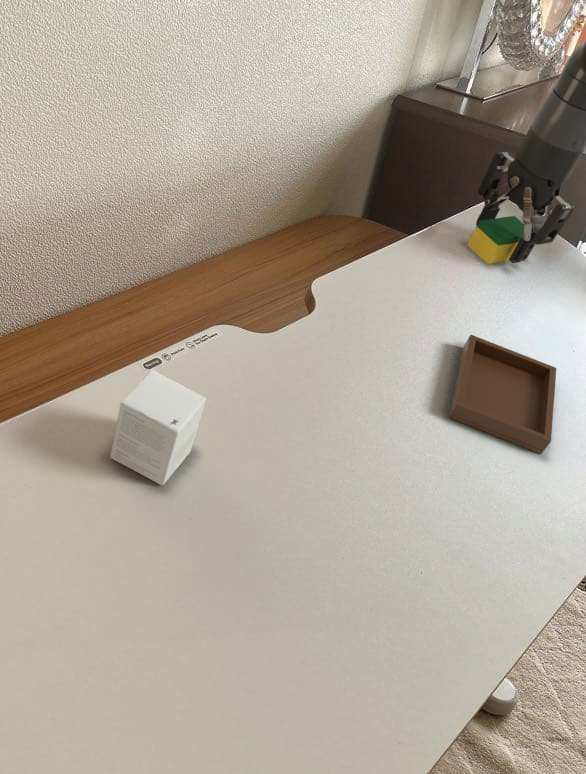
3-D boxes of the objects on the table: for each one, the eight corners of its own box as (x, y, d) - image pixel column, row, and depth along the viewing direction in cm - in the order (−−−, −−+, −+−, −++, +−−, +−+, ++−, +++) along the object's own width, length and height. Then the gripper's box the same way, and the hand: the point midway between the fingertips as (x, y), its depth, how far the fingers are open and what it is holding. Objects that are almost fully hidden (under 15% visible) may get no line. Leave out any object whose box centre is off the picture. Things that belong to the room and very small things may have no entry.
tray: (462, 347, 110) (470, 334, 108) (547, 380, 109) (556, 367, 107) (448, 417, 100) (456, 404, 98) (541, 454, 99) (551, 441, 98)
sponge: (501, 240, 129) (514, 215, 126) (521, 258, 127) (536, 234, 124) (467, 245, 126) (480, 220, 123) (487, 264, 124) (501, 239, 121)
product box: (191, 452, 88) (209, 398, 82) (162, 488, 84) (178, 433, 78) (138, 424, 89) (152, 367, 83) (107, 457, 85) (119, 401, 79)
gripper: (618, 161, 112) (548, 273, 124) (542, 103, 118) (483, 214, 131) (579, 165, 108) (512, 279, 121) (503, 105, 115) (447, 219, 128)
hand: (497, 245), depth 126 cm, fingers open, 7 cm apart
